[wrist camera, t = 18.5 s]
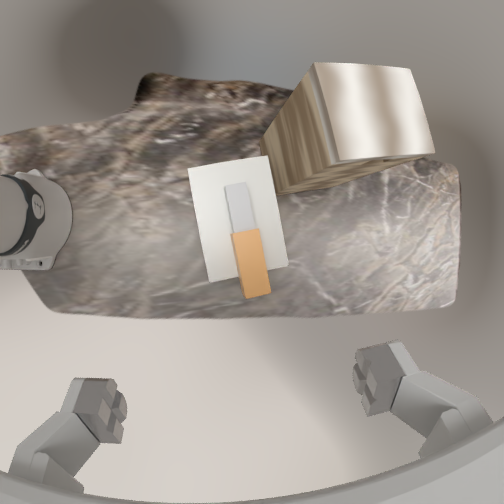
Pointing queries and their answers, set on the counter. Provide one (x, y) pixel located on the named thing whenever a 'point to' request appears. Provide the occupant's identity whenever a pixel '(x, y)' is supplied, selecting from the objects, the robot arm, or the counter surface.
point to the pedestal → (218, 220)
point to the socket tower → (345, 127)
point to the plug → (246, 243)
